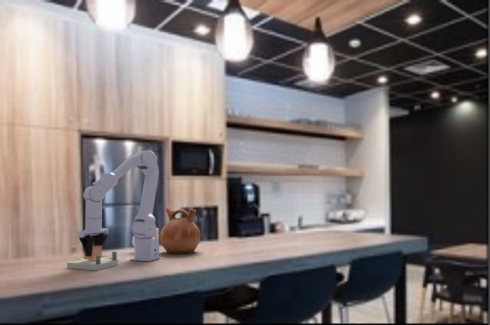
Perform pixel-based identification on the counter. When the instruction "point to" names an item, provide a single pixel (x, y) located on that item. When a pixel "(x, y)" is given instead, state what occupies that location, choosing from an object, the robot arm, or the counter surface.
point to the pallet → (101, 258)
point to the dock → (94, 263)
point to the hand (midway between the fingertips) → (93, 255)
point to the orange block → (94, 252)
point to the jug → (180, 233)
